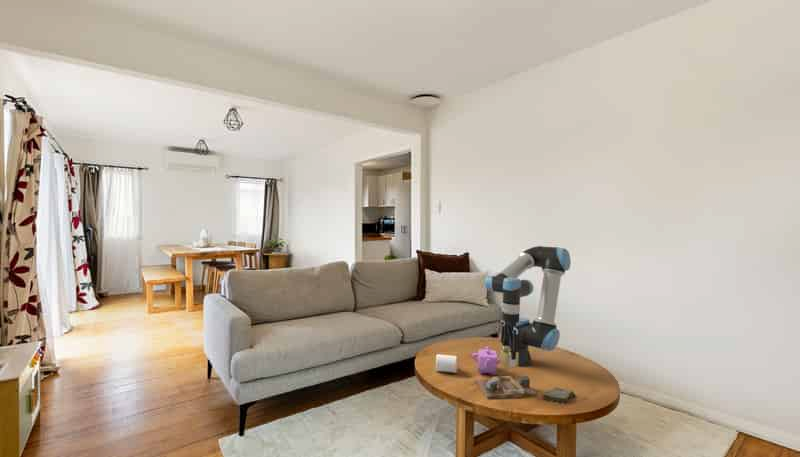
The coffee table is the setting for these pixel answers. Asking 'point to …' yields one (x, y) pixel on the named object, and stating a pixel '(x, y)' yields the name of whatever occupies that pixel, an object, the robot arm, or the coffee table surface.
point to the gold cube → (507, 357)
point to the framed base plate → (505, 389)
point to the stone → (558, 395)
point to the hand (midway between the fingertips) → (508, 362)
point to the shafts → (493, 383)
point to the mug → (446, 363)
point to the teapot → (487, 361)
